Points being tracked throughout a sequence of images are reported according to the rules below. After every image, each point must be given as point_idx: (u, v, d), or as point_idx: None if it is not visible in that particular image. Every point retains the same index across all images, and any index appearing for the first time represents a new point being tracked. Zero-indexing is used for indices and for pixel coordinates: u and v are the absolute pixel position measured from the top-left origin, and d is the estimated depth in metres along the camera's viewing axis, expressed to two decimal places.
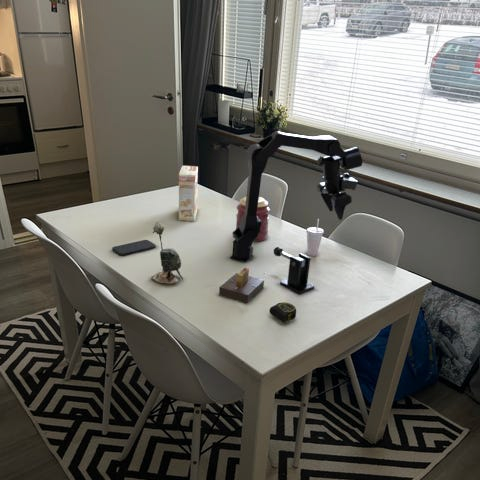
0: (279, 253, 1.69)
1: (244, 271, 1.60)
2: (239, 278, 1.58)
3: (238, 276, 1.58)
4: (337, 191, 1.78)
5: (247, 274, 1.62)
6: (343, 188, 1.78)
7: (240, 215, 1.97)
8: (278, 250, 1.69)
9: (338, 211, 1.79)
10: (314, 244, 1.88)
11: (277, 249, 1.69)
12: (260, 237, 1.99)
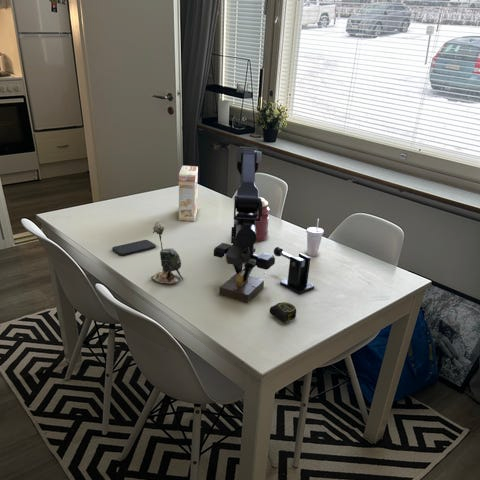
0: (279, 253, 1.69)
1: (244, 271, 1.60)
2: (239, 278, 1.58)
3: (238, 276, 1.58)
4: None
5: None
6: None
7: None
8: (278, 250, 1.69)
9: None
10: (314, 244, 1.88)
11: (277, 249, 1.69)
12: (260, 237, 1.99)
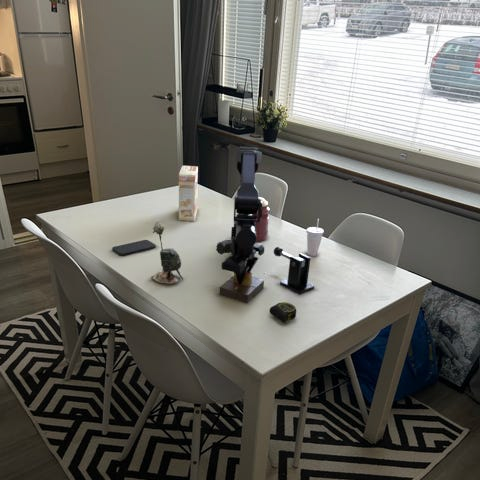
0: (279, 253, 1.69)
1: None
2: None
3: None
4: None
5: (246, 278, 1.59)
6: None
7: None
8: (278, 250, 1.69)
9: None
10: (314, 244, 1.88)
11: (277, 249, 1.69)
12: (260, 237, 1.99)
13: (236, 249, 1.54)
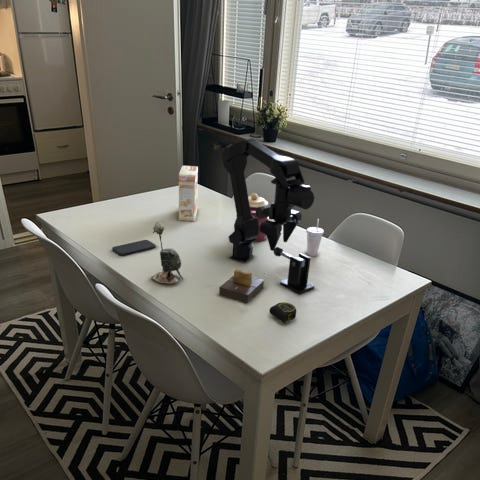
0: (279, 253, 1.69)
1: (244, 272, 1.59)
2: None
3: None
4: None
5: (246, 278, 1.59)
6: None
7: None
8: (278, 250, 1.69)
9: None
10: (314, 244, 1.88)
11: (277, 249, 1.69)
12: (260, 237, 1.99)
13: (274, 213, 1.62)
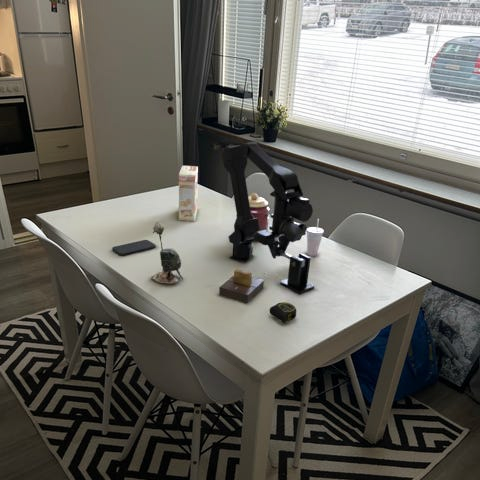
0: (279, 253, 1.69)
1: (244, 272, 1.59)
2: None
3: None
4: (275, 231, 1.64)
5: (246, 278, 1.59)
6: (280, 232, 1.62)
7: None
8: (278, 250, 1.69)
9: (270, 247, 1.68)
10: (314, 244, 1.88)
11: (277, 249, 1.69)
12: None
13: None
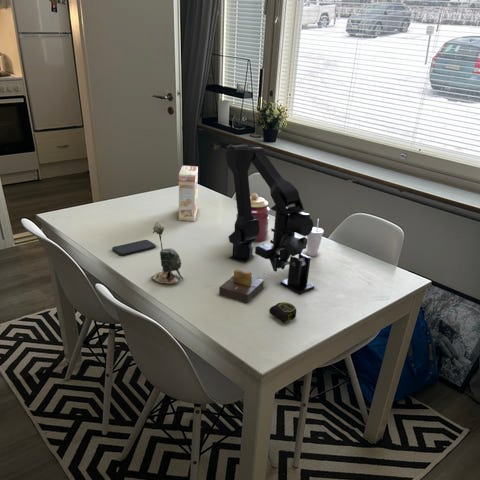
0: (280, 263, 1.70)
1: (244, 272, 1.59)
2: None
3: None
4: (276, 245, 1.66)
5: (246, 278, 1.59)
6: (280, 245, 1.64)
7: None
8: None
9: (271, 260, 1.70)
10: (314, 244, 1.88)
11: None
12: (260, 237, 1.99)
13: None
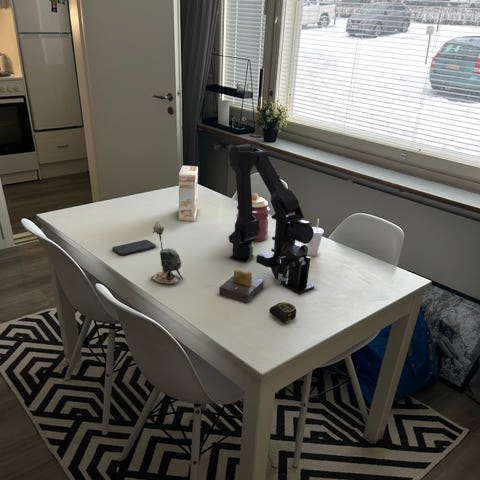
0: (281, 268, 1.70)
1: (244, 272, 1.59)
2: None
3: None
4: (277, 253, 1.67)
5: (246, 278, 1.59)
6: (281, 253, 1.65)
7: None
8: None
9: (272, 269, 1.70)
10: (314, 244, 1.88)
11: None
12: (260, 237, 1.99)
13: None
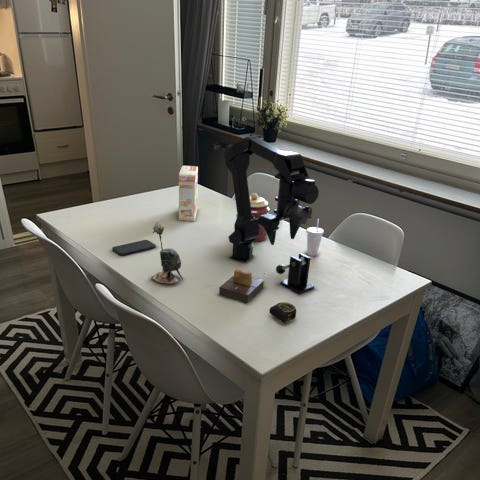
0: (281, 268, 1.70)
1: (244, 272, 1.59)
2: None
3: None
4: (280, 214, 1.60)
5: (246, 278, 1.59)
6: (284, 215, 1.59)
7: None
8: (279, 266, 1.71)
9: (268, 233, 1.63)
10: (314, 244, 1.88)
11: (278, 266, 1.71)
12: (260, 237, 1.99)
13: None
